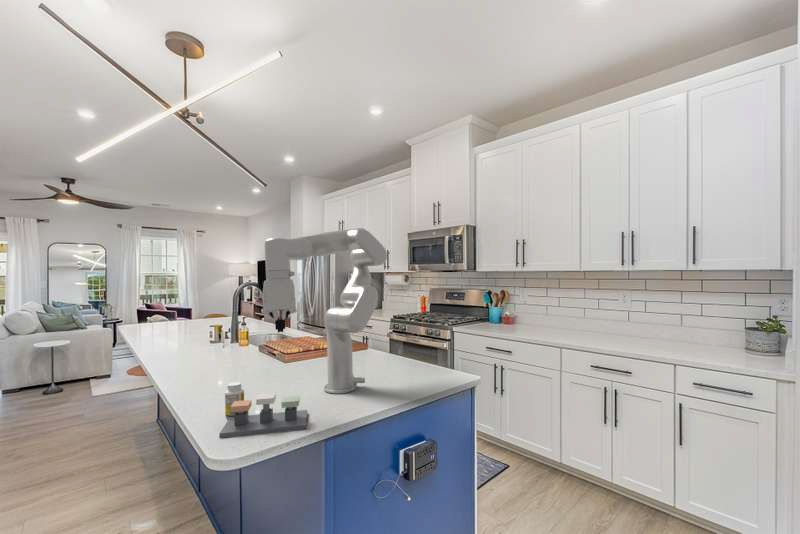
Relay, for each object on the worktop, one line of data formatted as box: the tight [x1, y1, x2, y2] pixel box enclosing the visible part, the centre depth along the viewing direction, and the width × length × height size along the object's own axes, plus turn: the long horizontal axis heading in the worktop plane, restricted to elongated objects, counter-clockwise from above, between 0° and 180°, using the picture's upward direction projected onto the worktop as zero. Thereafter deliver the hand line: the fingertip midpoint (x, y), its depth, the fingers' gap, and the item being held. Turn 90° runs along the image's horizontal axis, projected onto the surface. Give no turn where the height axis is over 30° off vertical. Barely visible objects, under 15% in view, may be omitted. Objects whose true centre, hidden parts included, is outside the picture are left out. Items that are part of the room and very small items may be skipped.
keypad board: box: [218, 406, 308, 439], centre depth 110 cm, size 23×12×4 cm, turn 102°
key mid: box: [255, 392, 277, 412], centre depth 110 cm, size 5×5×5 cm
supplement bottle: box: [224, 381, 245, 420], centre depth 118 cm, size 6×6×10 cm
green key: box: [281, 395, 301, 410], centre depth 112 cm, size 5×5×5 cm
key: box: [231, 399, 253, 415], centre depth 109 cm, size 5×5×5 cm
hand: (280, 331), depth 122 cm, fingers closed
